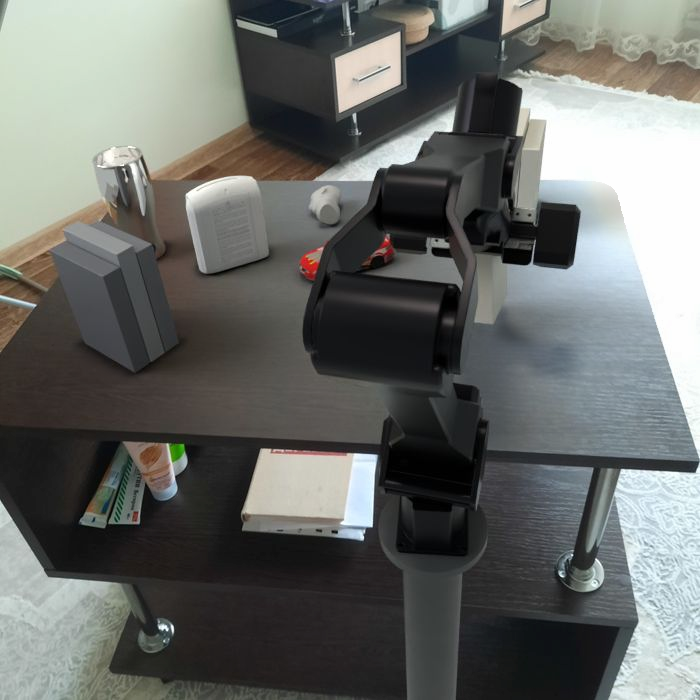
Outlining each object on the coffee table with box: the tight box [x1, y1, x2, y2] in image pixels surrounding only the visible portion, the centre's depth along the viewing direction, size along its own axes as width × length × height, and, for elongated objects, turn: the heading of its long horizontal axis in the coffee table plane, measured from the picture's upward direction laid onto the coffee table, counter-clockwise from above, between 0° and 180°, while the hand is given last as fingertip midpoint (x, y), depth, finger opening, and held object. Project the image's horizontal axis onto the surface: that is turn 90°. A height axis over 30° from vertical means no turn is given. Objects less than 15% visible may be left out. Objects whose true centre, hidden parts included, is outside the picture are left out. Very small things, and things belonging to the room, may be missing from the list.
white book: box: [474, 253, 508, 325], centre depth 82 cm, size 7×3×13 cm, turn 157°
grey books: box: [49, 219, 180, 374], centre depth 85 cm, size 10×7×15 cm
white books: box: [509, 107, 547, 211], centre depth 102 cm, size 10×7×14 cm
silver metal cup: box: [92, 145, 167, 260], centre depth 101 cm, size 7×7×15 cm
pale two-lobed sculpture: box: [308, 184, 342, 226], centre depth 110 cm, size 4×8×5 cm
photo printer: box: [185, 175, 270, 275], centre depth 99 cm, size 10×4×12 cm, turn 117°
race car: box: [298, 235, 395, 281], centre depth 98 cm, size 13×5×4 cm, turn 111°
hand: (488, 248), depth 83 cm, fingers closed on white book, 3 cm apart
